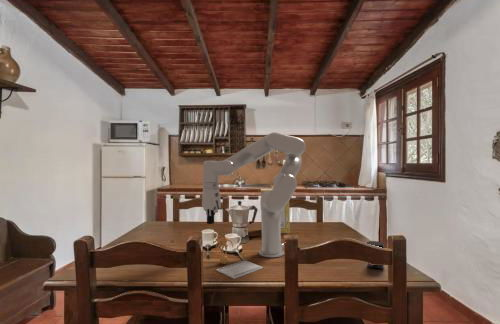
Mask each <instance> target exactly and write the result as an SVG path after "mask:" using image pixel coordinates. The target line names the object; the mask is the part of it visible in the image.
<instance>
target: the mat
mask: <svg viewBox="0 0 500 324" xmlns="http://www.w3.org/2000/svg"><path fill="white" fill-rule="evenodd" d="M263 268H264V267H263V266H261V265H258V264H256V263H253V262H251V261H248V260H241V261H238V262H235V263H232V264H229V265H225V266H223V267H219V268H216V271H217V272H219V273H221V274H223V275H225V276H227V277H230V278H232V279H234V280H235V279H238V278H240V277H244V276H246V275H248V274H252V273H254V272H258V271H259V270H263Z"/></svg>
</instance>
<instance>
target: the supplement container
mask: <svg viewBox="0 0 500 324" xmlns="http://www.w3.org/2000/svg"><path fill="white" fill-rule="evenodd" d="M367 244H371V245H375V246H379V247H382V248H384V249H385V245H384V242H382V241H375V240H369V241H366V245H367ZM366 265H367V267H368V268H369V269H372V270H383V269H384V267H385V264H384V265H372V264H369V263H366Z"/></svg>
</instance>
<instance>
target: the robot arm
mask: <svg viewBox="0 0 500 324" xmlns="http://www.w3.org/2000/svg"><path fill="white" fill-rule="evenodd" d="M306 148H307V146H306V143H305V141H304V139H301V138H299V137H296V136H292V135H288V134H283V133H280V132H271V133H269V134H266V135H265V136H263V137H261V138H260V139H257V140H255V141H254V142H252V143H250V144H248V145H247V146H245V147H243V148H242V149H241V150H239V151H238V152H236V153H234V154H233V155H231V156H229V157H228V158H226V159H224V160H204V161H203V163H202V195H201V206H202V209H203V210H204V211H205V214H206V224H208V225H214V224H215V216H216V213H218V212H219V210H221V206H222V205H221V202H222V201H221V193H220V188H219V187H220V185H219V183H220V182H219V178H220V177H219V176H226V177H227V176H231V175H233V174H234V172H235V171H236V170H238V169H240V168H241V167H244V166H246V165H248V164H252V163H254V162H256V161H258V160H260V159H262V158H263V157H265V156H266V155H268V154H270V153H272V152H274V151H278V152H282V153H284V155H285V161H284V163H283V165H282V166H281V168H280V170H279V171H278V173H277V174H276V175H275V177H274V178H273V181H272V184H273V188H272V189H273V190H272V191H266V192H265V193H263V195H262V196H261V195H260V202H259V203H260V216H261V215H262V229H261V249H259V251H258V254H259V256H261V257H263V258H264V257H265V258H280V257H282V256H284V255H285V251H284V250H283V248H285V247H284V243H285V242H284V243H281V242H282V241H281V239H282V237H281V235H282V233H281V224H280V223H281V219H280V211H281V210H282V209H283V208H284V207H285V206H286V204H287V203H288V201H289V202H290V199H291V198H292V197H293V195H294V193H295V192H296V189H297V186H298V182H297V178H296V177H297V176H298V173H299V171H300V169H301V168H302V165H303V164H302V163H303V159H302V155H303V154H304V152H305V151H306Z"/></svg>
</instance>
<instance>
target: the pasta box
mask: <svg viewBox="0 0 500 324" xmlns="http://www.w3.org/2000/svg"><path fill="white" fill-rule="evenodd" d="M272 190H273V188H260V197H261V196H262V195H263V193H265V192H266V191H272ZM260 218H261V227H260V228H261V230H262V215H261V214H260ZM280 219H281V223H280V224H281V234H290V233H291V232H290V231H291V229H290V227H291V225H290V224H291V223H290V200H289V201H288V203H287V204H286V206H285V207H284V208H283V209H282V210H281V211H280Z"/></svg>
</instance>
